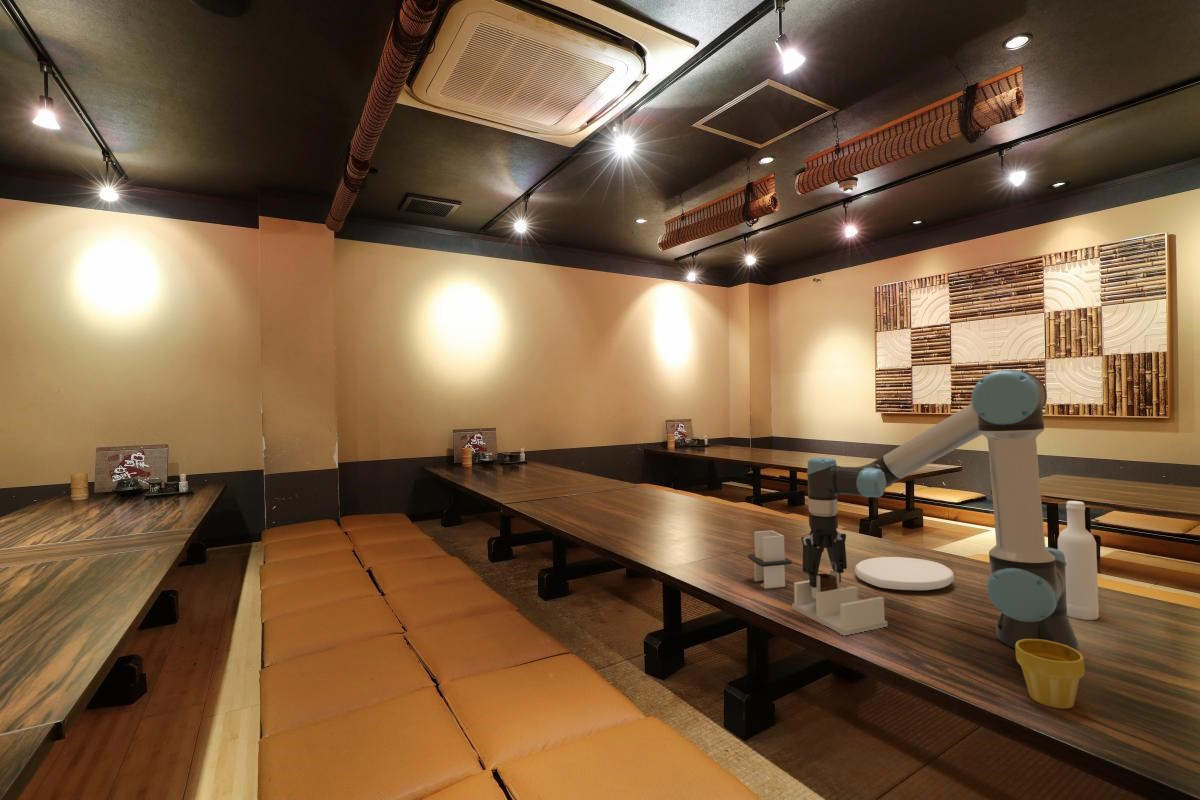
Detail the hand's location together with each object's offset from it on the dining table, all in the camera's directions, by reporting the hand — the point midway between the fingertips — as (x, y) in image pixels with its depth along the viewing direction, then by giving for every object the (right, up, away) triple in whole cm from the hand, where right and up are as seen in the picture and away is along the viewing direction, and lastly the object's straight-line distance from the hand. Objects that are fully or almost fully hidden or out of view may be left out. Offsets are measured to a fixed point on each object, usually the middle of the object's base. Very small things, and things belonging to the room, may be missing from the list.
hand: (825, 596), depth 151 cm
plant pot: (+24, -4, -46) cm, 52 cm away
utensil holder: (0, -2, 0) cm, 2 cm away
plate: (+34, -4, +23) cm, 42 cm away
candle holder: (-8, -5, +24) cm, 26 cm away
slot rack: (+2, -4, -4) cm, 6 cm away
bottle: (+65, -3, -6) cm, 65 cm away
